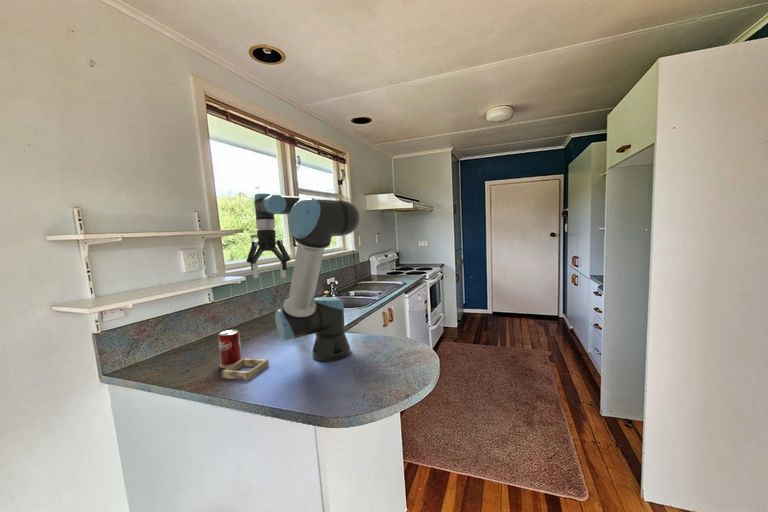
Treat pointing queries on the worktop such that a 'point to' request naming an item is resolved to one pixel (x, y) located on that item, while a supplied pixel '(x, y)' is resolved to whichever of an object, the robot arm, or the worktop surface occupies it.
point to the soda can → (229, 347)
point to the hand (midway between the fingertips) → (269, 277)
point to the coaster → (223, 366)
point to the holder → (245, 375)
